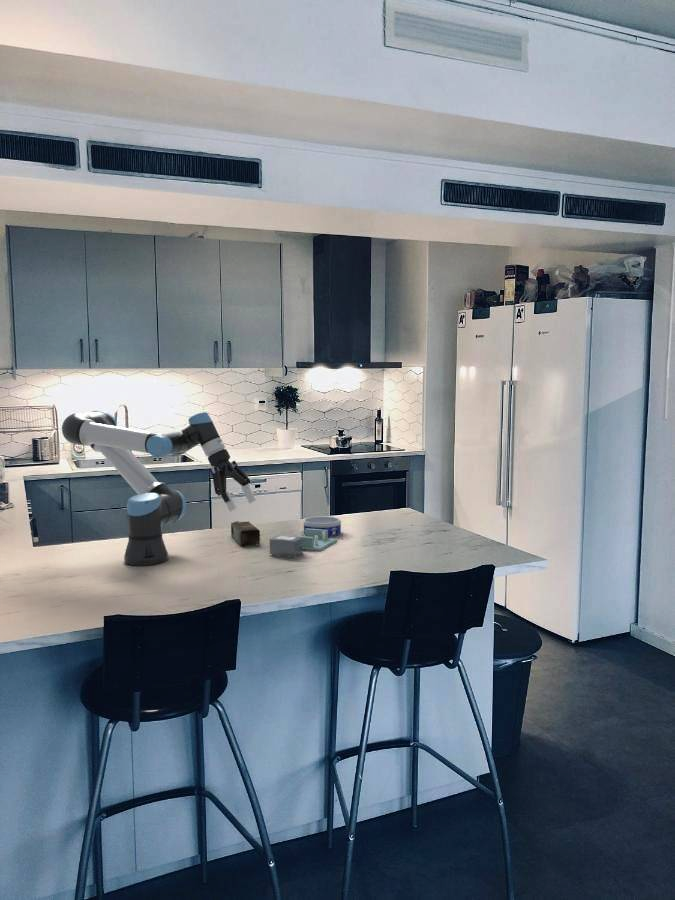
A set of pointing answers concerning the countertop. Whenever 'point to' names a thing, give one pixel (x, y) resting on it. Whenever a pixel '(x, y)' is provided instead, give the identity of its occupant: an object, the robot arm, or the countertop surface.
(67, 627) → the countertop surface
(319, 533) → the pin tray
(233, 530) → the beverage carton
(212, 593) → the countertop surface
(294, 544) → the block
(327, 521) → the dog bowl
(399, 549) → the countertop surface
